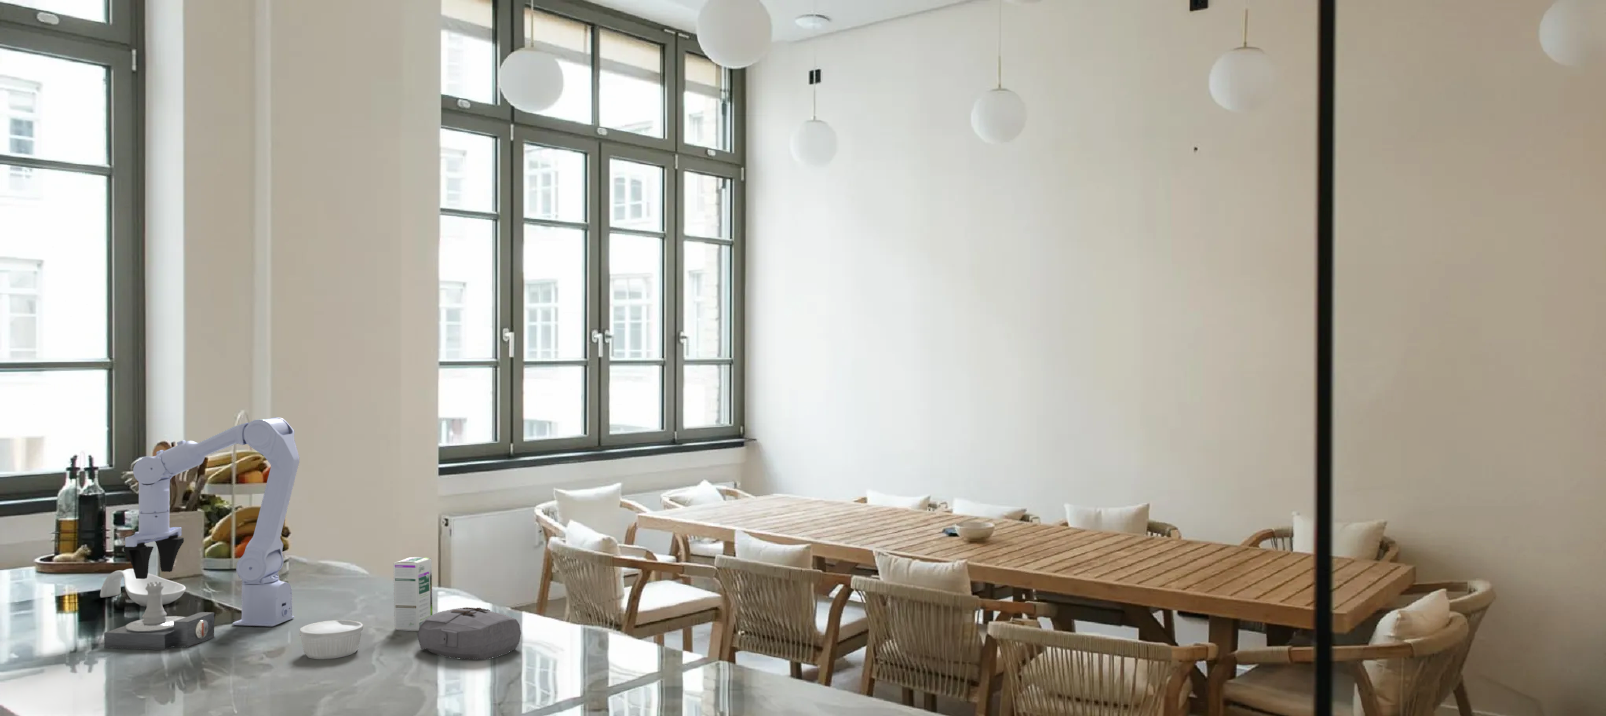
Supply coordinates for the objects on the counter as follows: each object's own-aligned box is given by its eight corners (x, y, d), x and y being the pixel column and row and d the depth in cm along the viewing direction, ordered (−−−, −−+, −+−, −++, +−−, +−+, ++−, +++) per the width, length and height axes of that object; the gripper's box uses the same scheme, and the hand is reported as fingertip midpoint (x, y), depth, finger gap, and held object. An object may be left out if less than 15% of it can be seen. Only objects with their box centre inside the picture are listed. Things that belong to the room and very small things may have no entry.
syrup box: (418, 631, 229) (418, 562, 229) (392, 630, 231) (393, 561, 230) (433, 624, 235) (433, 557, 235) (408, 623, 236) (408, 556, 236)
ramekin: (375, 648, 216) (375, 622, 216) (333, 663, 206) (333, 635, 206) (329, 643, 220) (329, 617, 220) (286, 658, 209) (286, 630, 209)
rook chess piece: (149, 620, 224) (148, 580, 224) (171, 619, 224) (171, 580, 224) (137, 625, 220) (137, 585, 220) (160, 625, 220) (160, 585, 220)
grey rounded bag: (530, 648, 217) (457, 635, 227) (530, 605, 217) (457, 595, 227) (473, 666, 204) (398, 652, 213) (473, 622, 204) (398, 610, 213)
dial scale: (224, 634, 227) (224, 609, 227) (180, 650, 214) (180, 625, 214) (151, 631, 229) (151, 607, 229) (104, 647, 216) (104, 622, 216)
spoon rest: (196, 601, 258) (196, 571, 258) (148, 612, 248) (148, 580, 248) (132, 592, 268) (132, 563, 268) (83, 602, 258) (83, 571, 258)
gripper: (161, 506, 244) (161, 568, 244) (111, 516, 229) (111, 581, 229) (190, 507, 243) (190, 568, 243) (142, 516, 229) (142, 582, 229)
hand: (154, 574), depth 236 cm, fingers open, 7 cm apart
